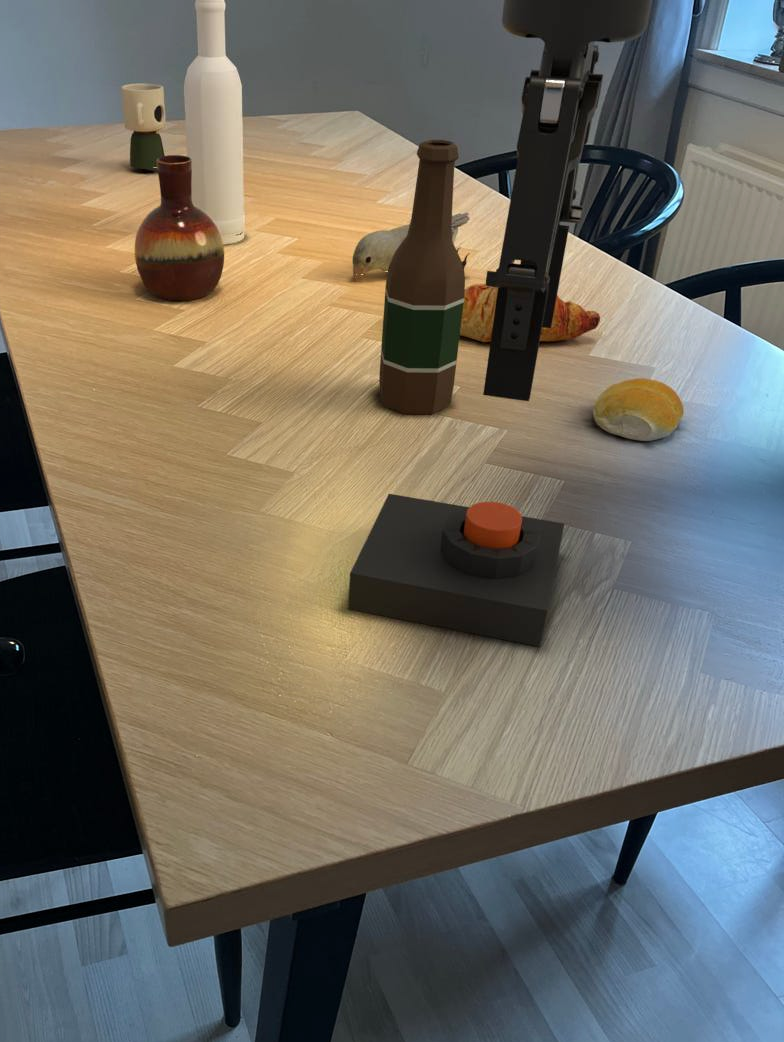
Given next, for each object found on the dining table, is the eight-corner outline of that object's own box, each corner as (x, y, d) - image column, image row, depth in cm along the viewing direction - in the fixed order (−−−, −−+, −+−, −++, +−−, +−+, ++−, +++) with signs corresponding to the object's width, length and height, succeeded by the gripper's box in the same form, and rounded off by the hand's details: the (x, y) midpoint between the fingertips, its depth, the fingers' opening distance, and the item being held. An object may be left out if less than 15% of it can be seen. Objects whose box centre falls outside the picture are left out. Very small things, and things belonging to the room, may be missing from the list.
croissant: (409, 360, 117) (410, 312, 110) (420, 295, 121) (421, 245, 113) (591, 374, 113) (604, 325, 106) (596, 307, 117) (609, 256, 110)
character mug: (163, 178, 169) (157, 93, 161) (122, 176, 169) (114, 91, 161) (173, 163, 177) (168, 82, 169) (134, 162, 178) (127, 80, 170)
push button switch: (557, 557, 78) (569, 502, 75) (539, 647, 69) (552, 589, 66) (385, 527, 81) (390, 473, 78) (347, 609, 72) (351, 551, 69)
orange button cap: (521, 527, 72) (525, 506, 71) (514, 555, 69) (518, 534, 68) (468, 517, 73) (471, 497, 72) (459, 545, 70) (461, 524, 69)
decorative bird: (345, 274, 131) (347, 215, 126) (454, 264, 135) (461, 207, 130) (359, 287, 127) (362, 227, 122) (471, 277, 131) (478, 218, 126)
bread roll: (685, 414, 99) (696, 376, 96) (667, 450, 92) (678, 411, 90) (604, 396, 102) (612, 359, 99) (581, 430, 95) (589, 391, 93)
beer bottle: (399, 421, 96) (421, 155, 81) (363, 391, 102) (378, 136, 87) (466, 409, 99) (500, 149, 84) (428, 379, 104) (453, 130, 89)
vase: (141, 308, 119) (129, 171, 110) (134, 278, 128) (123, 149, 118) (231, 303, 121) (227, 168, 112) (218, 274, 130) (214, 147, 120)
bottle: (250, 231, 145) (247, -10, 127) (238, 247, 139) (233, -4, 121) (198, 227, 146) (187, -13, 128) (184, 243, 140) (170, -7, 122)
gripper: (538, -69, 59) (490, 290, 73) (473, -44, 41) (425, 427, 55) (666, -65, 58) (593, 302, 71) (657, -37, 40) (561, 448, 53)
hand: (520, 357), depth 63 cm, fingers open, 12 cm apart
